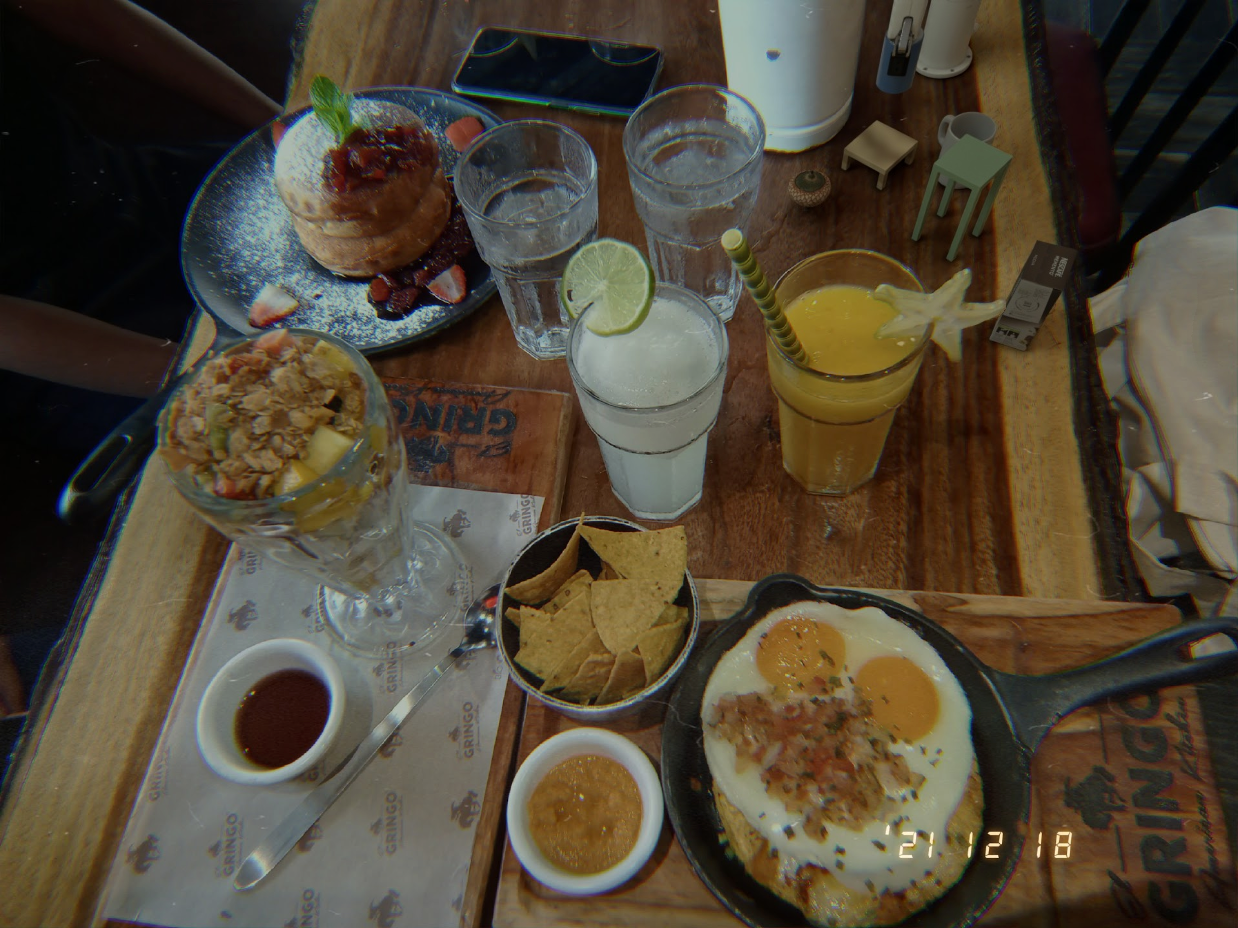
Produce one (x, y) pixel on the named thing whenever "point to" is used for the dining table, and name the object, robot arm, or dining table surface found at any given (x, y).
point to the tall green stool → (965, 184)
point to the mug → (964, 133)
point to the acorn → (809, 188)
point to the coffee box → (1034, 294)
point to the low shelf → (880, 150)
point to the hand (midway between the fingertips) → (899, 60)
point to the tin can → (904, 83)
